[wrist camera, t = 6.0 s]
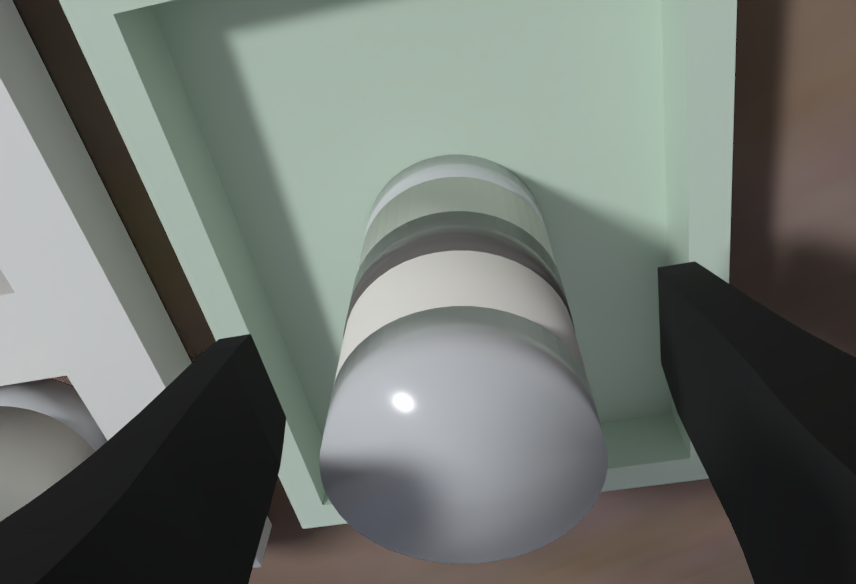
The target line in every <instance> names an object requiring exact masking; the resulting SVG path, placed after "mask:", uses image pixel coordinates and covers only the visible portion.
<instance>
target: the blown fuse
mask: <svg viewBox="0 0 856 584" xmlns="http://www.w3.org/2000/svg"><path fill="white" fill-rule="evenodd" d="M319 467H320V475H321V480H322V483H323V486H324V489H325V492H326V494H327V496H328V498H329V500H330V502H331V504H332V505H333V506H334V508H335V509H336V510H337V512H338V513H339V515H340V516H341V517H342V518H343V519H344V520H345V521H346V522H347V523H348V524H349V525H350V526H352V527H353V528H354V529H355V530H357V531H358V532H359V533H360V534H362V535H363V536H365V537H366V538H368V539H370V540H371V541H373V542H374V543H376V544H379V545H381V546H383V547H385V548H387V549H389V550H392V551H394V552H397V553H400V554H402V555H406V556H409V557H413V558H417V559H421V560H427V561H432V562H440V563H451V564H472V563H486V562H492V561H498V560H504V559H508V558H512V557H516V556H519V555H522V554H525V553H528V552H531V551H534V550H536V549H538V548H540V547H543V546H545V545H547V544H549V543H551V542H552V541H554V540H556V539H557V538H559V537H561V536H562V535H564V534H565V533H566V532H568V531H569V530H570V529H572V528H573V527H574V526H575V525H576V524H577V523H578V522H580V521H581V520H582V519H583V518H584V517H585V515H586V514H587V513H588V512H589V510H590V509H591V508H592V507H593V505H594V504H595V502H596V500H597V498H598V497H599V495H600V493H601V491H602V488H603V485H604V482H605V479H606V474H607V468H608V453H607V448H606V442H605V438H604V435H603V431H602V427H601V424H600V420H599V417H598V413H597V410H596V406H595V402H594V399H593V395H592V392H591V388H590V385H589V381H588V377H587V374H586V370H585V367H584V363H583V360H582V356H581V352H580V349H579V345H578V342H577V338H576V335H575V329H574V324H573V319H572V316H571V312H570V309H569V305H568V302H567V298H566V295H565V291H564V288H563V284H562V281H561V277H560V275H559V272H558V269H557V267H556V263H555V260H554V256H553V253H552V249H551V245H550V242H549V238H548V235H547V231H546V228H545V224H544V220H543V217H542V213H541V211H540V208H539V205H538V203H537V201H536V199H535V197H534V195H533V193H532V192H531V191H530V189H529V188H528V187H527V185H526V184H525V183H524V182H523V181H522V180H521V179H520V178H519V177H518V176H517V175H515V174H514V173H512V172H511V171H510V170H508V169H507V168H505V167H503V166H501V165H500V164H498V163H495V162H493V161H490V160H488V159H485V158H481V157H477V156H471V155H463V154H450V155H442V156H436V157H432V158H428V159H425V160H422V161H420V162H417V163H415V164H413V165H411V166H409V167H407V168H406V169H404V170H402V171H401V172H400V173H398V174H397V175H396V176H394V177H393V178H392V179H391V180H390V181H389V182H388V183H387V184H386V185H385V187H384V188H383V189H382V190H381V192H380V193H379V195H378V196H377V198H376V200H375V202H374V204H373V206H372V209H371V211H370V214H369V219H368V223H367V228H366V232H365V237H364V242H363V247H362V252H361V257H360V261H359V266H358V271H357V275H356V277H355V281H354V285H353V290H352V295H351V299H350V304H349V309H348V314H347V318H346V323H345V328H344V333H343V343H342V348H341V353H340V358H339V362H338V367H337V372H336V377H335V382H334V386H333V391H332V396H331V401H330V406H329V411H328V415H327V420H326V425H325V430H324V435H323V439H322V444H321V449H320V460H319Z"/></svg>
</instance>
